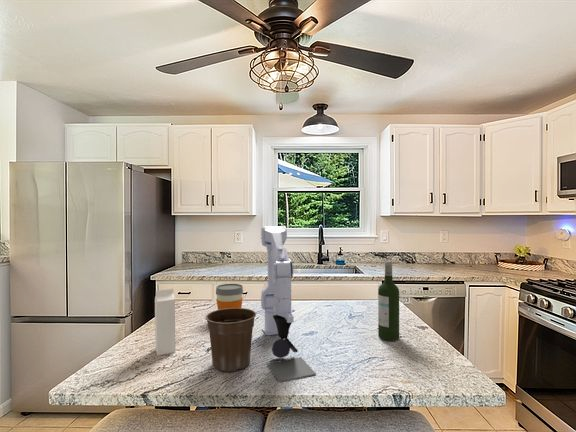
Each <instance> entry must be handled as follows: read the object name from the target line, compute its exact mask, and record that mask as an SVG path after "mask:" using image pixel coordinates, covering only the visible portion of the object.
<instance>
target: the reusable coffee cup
mask: <svg viewBox="0 0 576 432" xmlns="http://www.w3.org/2000/svg"><path fill="white" fill-rule="evenodd" d="M215 294H216V306H217V307H216V308H217V310H220V309H226V308H243V307H242V306H243V294H244V286H243V285H242V284H240V283H223V284H219V285H217V286H216V288H215Z"/></svg>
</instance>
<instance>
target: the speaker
mask: <svg viewBox="0 0 576 432" xmlns="http://www.w3.org/2000/svg"><path fill="white" fill-rule="evenodd" d="M290 351H292V353H297V352H299V350H298V349H297V348H296V347H295V345H294V344H293V343H292V341H290V339H289V338H288V337H287V338H286V339H281V338H278V339H277V340H275V341H274V342H273V344H272V346H271V352H272V354H273V356H274V357H275V358H280V359H282V358H285V357H287V356H288V355H289V354H290Z"/></svg>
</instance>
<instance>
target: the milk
mask: <svg viewBox="0 0 576 432" xmlns="http://www.w3.org/2000/svg"><path fill="white" fill-rule="evenodd" d="M154 332H155V333H154V337H155V338H154V339H155V340H154V342H155V344H154V346H155V348H154V349H155V352H156V354H157V356H158V357H159V356H163V355H168V354H173V353H176V298H175V294H174V289H173V288H168V289H158V290H155V296H154Z"/></svg>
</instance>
